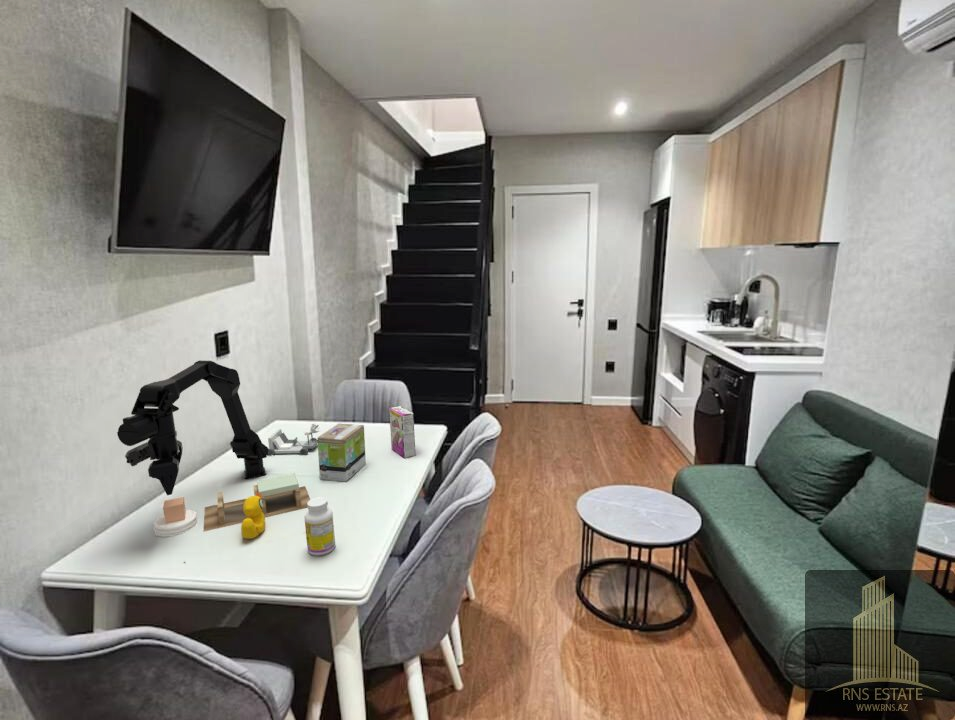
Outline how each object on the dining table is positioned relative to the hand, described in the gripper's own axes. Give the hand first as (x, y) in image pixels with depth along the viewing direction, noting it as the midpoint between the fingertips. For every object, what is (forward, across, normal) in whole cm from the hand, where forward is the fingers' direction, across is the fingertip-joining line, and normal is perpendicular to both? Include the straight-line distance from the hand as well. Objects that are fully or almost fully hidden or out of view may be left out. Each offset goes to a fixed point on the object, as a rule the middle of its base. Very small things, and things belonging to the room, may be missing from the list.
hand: (171, 487), depth 133 cm
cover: (+6, 0, +26) cm, 27 cm away
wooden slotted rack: (+12, -1, +21) cm, 24 cm away
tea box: (+12, -15, +48) cm, 52 cm away
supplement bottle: (+12, +29, +33) cm, 46 cm away
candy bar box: (+12, -21, +71) cm, 75 cm away
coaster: (+12, 0, 0) cm, 12 cm away
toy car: (+12, -44, +36) cm, 59 cm away
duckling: (+12, +13, +19) cm, 26 cm away
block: (+9, 0, 0) cm, 9 cm away
